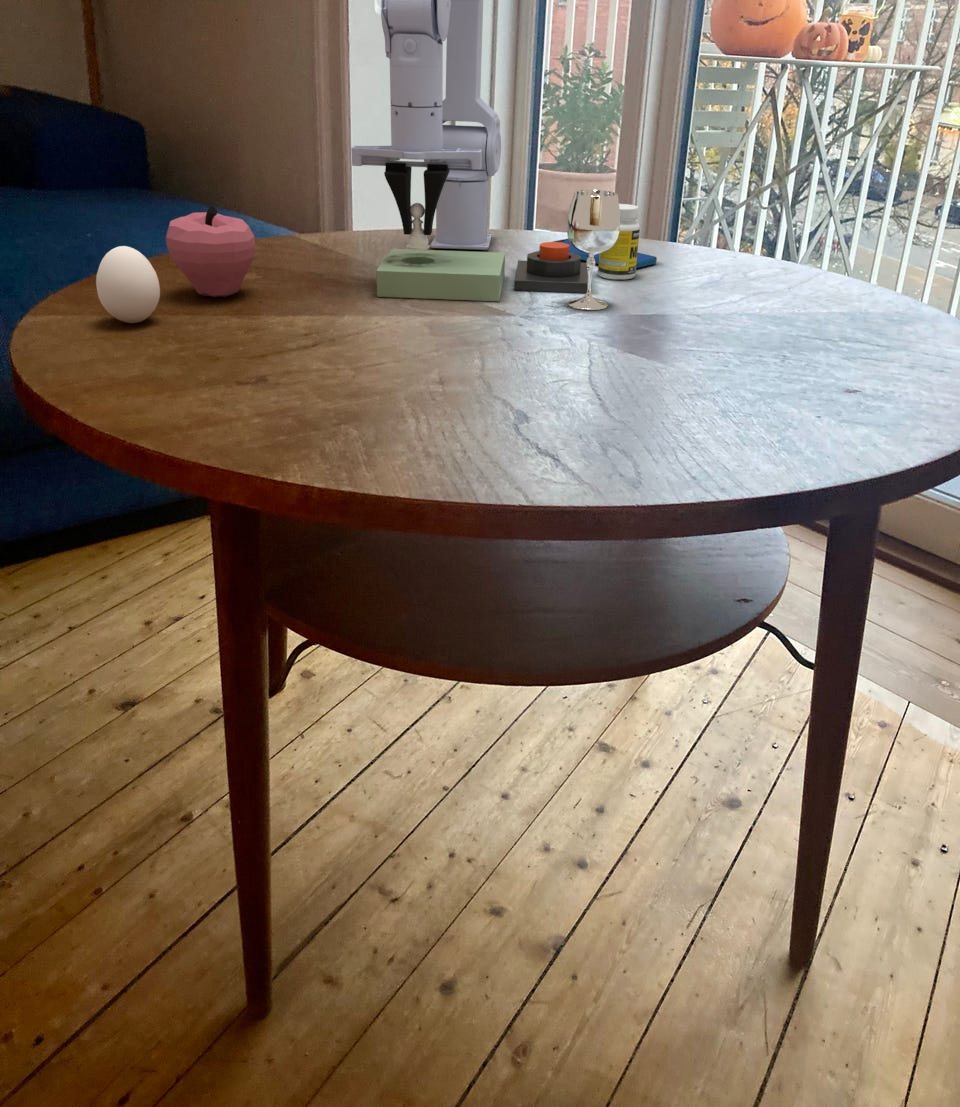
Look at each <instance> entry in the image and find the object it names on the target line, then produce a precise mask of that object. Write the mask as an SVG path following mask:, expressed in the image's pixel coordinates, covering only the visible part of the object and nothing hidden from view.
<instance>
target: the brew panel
mask: <svg viewBox="0 0 960 1107" xmlns="http://www.w3.org/2000/svg"><path fill="white" fill-rule="evenodd" d="M539 251H540V250H538V251H537V250H536V251H533V252H530V253H528V254H527V256H526V260H521V259H520V260H519V259H518V260H517V264H516V271H515V276H514V291H521V292H522V291H523V292H544V293H545V292H547V293H548V292H549V293H575V294H576V293H577V294H585V293H586V290H587V279H588V276H587V268H586V262H582V260H581V256H580V255H577V254H575V253H571V252H569V259H565V260H548V259H542V258H539Z"/></svg>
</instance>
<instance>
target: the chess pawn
mask: <svg viewBox="0 0 960 1107" xmlns="http://www.w3.org/2000/svg"><path fill="white" fill-rule="evenodd" d="M410 214H411V215H412V218H413V219H412V221H411V223H412V230H411V232H410V235H409V236H408V238H407V243H406V244H405V247H406V248H407V249H412V250H429V248H431V244H429V238H428V237H427V235H424V228H423V227H422V226H423V224H424V220H422V217H423V218H424V216H425V205H423V204H422V203H420V202H414V203H413V204H411V207H410Z"/></svg>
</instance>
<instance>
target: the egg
mask: <svg viewBox="0 0 960 1107" xmlns="http://www.w3.org/2000/svg"><path fill="white" fill-rule="evenodd" d="M95 285H96V293H97V297H98V300H99V301H100V303H101V305H102V307H103V308H104V309H105V311H107V312H108V314H109V315H110V316H111V317H113V318H114V319H117V320H118V321H120V322H123V323H127V324H138V323H140V322H144V321H145V320H146V319H147V318H149V317H150V316H151V315H152V314H153V313H154V312H155V310H156V308H157V307H158V304H159V302H160V298H161V287H160V280H159V277H158V275H157V272H156V270H155V269H154V267H153V266H152V263H151V261H149V259H148V258H147V257H146V256H145V255H144V254H142V253H141V252H140V251H139V250H137V249H135V248H133V247H132V246H127V245H119V246H116V247H114V248H112V249H110V250H109V251H108V252H106V253H105V255H104V256H103V257H102V259H101V261H100V263H99V265H98V269H97V271H96V278H95Z"/></svg>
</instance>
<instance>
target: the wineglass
mask: <svg viewBox="0 0 960 1107" xmlns="http://www.w3.org/2000/svg"><path fill="white" fill-rule="evenodd" d="M619 204H620V202H619V195H618V193H617V192H615V191H612V190H611V191H610V190H602V189H580V190H575V191H574V192H573V194H572V198H571V201H570V205H569V210H568V215H567V219H566V235H567V239H569V241H570V243H571V245H572V246H573V247H574V248H576V249H577V250H579V251H581V252H583V253H586V254H588V255H589V257H588V259H587V261H585V263H586V268H587V276H588V279H587V290H586V293H584V295H583V297H581V298H577V299H572V300H569V301H568V303H567V306H569V307H570V308H573V309H575V310H576V309H577V310H582V311H600V310H604V309H606V308H607V307H608V303H606V302H605V301H604V300H603V301H602V300H599V299H595V298H594V297H593V294H592V280H593V273H594V270H595V267H596V263H595V259H594V255H595V254H599V253H602V252H605V251H607V250H609V249H610V248H611V247H612V246H613V245H614V244H615V243H616V241H617V239H618V236H619V231H620V208H619Z"/></svg>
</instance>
